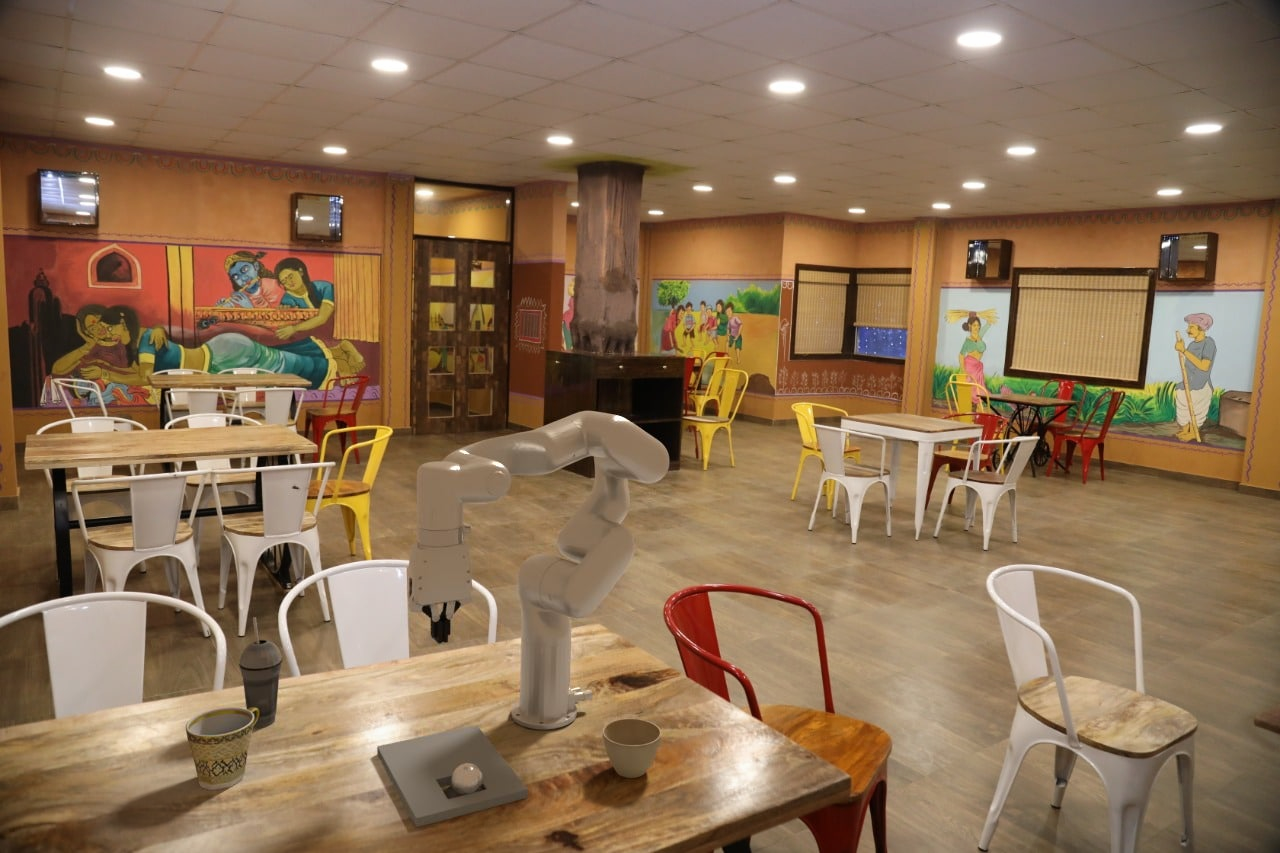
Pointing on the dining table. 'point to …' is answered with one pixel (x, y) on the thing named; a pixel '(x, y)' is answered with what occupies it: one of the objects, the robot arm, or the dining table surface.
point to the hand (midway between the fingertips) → (440, 640)
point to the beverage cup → (261, 678)
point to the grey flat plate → (448, 774)
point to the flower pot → (631, 745)
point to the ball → (466, 779)
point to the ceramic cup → (221, 745)
